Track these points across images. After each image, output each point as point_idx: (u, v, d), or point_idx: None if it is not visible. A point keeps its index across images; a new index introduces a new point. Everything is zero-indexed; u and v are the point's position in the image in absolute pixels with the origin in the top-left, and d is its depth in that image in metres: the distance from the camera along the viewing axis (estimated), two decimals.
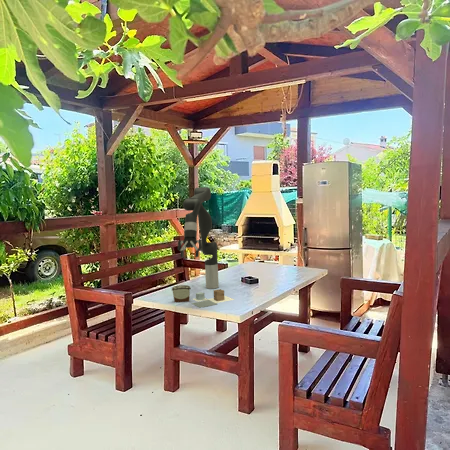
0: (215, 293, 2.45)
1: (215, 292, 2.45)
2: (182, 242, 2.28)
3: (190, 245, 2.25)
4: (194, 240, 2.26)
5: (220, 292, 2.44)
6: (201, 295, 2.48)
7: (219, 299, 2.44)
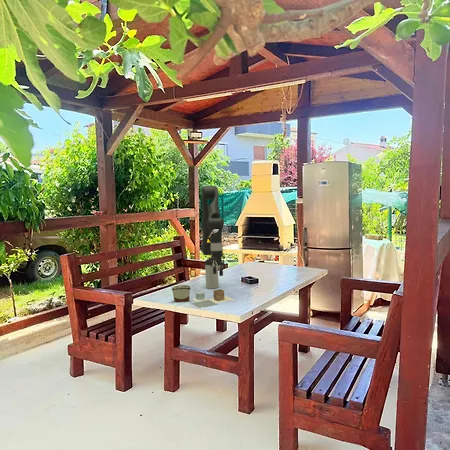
0: (215, 293, 2.45)
1: (215, 292, 2.45)
2: None
3: (216, 264, 2.44)
4: (217, 260, 2.41)
5: (220, 292, 2.44)
6: (201, 295, 2.48)
7: (219, 299, 2.44)
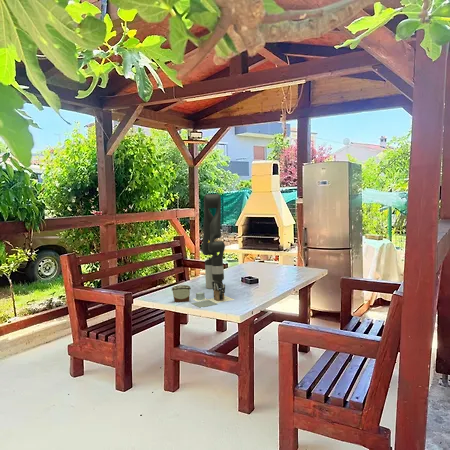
0: (215, 293, 2.45)
1: (215, 292, 2.45)
2: None
3: (217, 286, 2.45)
4: (219, 283, 2.42)
5: None
6: (201, 295, 2.48)
7: (219, 299, 2.44)
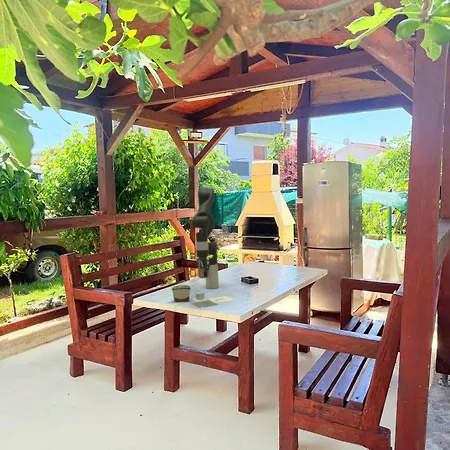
0: (199, 270, 2.35)
1: (199, 269, 2.35)
2: None
3: None
4: (203, 259, 2.33)
5: None
6: (201, 295, 2.48)
7: (203, 276, 2.34)
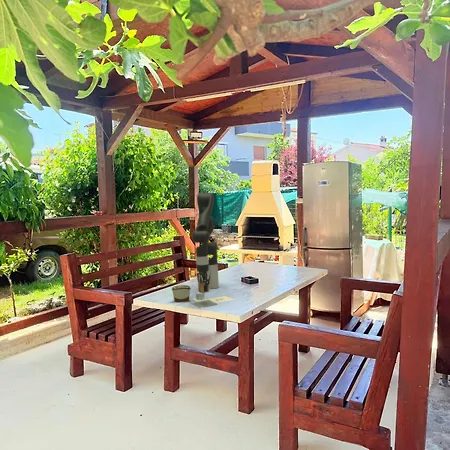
0: (199, 285, 2.36)
1: (199, 284, 2.36)
2: None
3: (201, 278, 2.36)
4: (203, 274, 2.33)
5: None
6: (201, 295, 2.48)
7: None
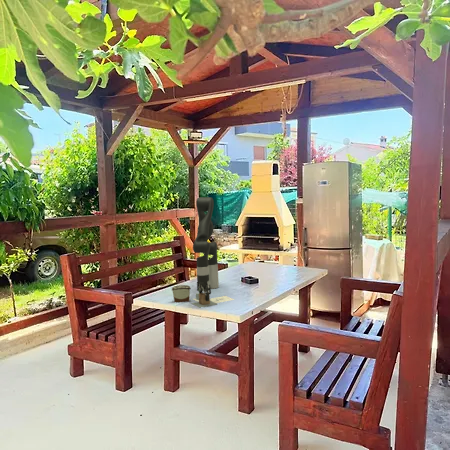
0: (200, 297, 2.36)
1: (200, 296, 2.36)
2: None
3: (202, 288, 2.36)
4: (204, 284, 2.34)
5: None
6: None
7: (204, 303, 2.35)
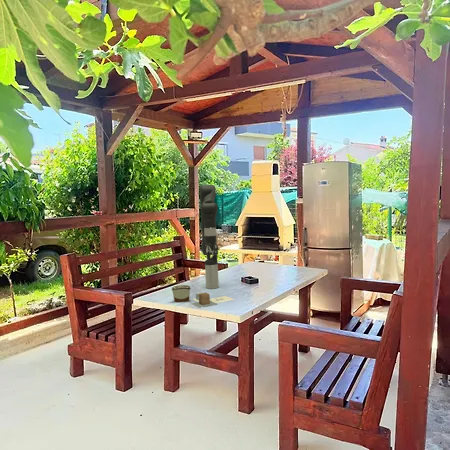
0: (200, 297, 2.36)
1: (200, 296, 2.36)
2: None
3: (210, 249, 2.42)
4: (211, 245, 2.40)
5: (205, 296, 2.35)
6: None
7: (204, 303, 2.35)
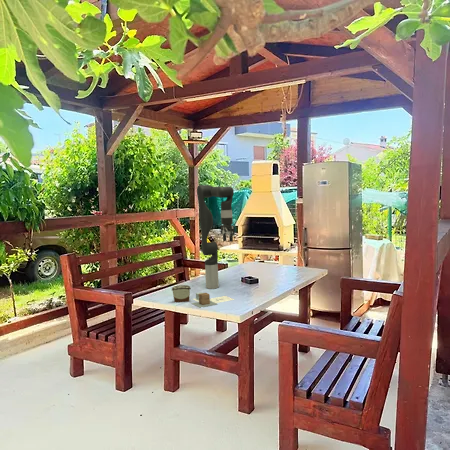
0: (200, 297, 2.36)
1: (200, 296, 2.36)
2: None
3: (226, 231, 2.55)
4: (228, 226, 2.53)
5: (205, 296, 2.35)
6: None
7: (204, 303, 2.35)
